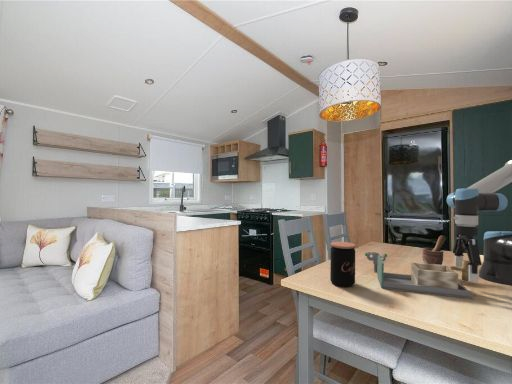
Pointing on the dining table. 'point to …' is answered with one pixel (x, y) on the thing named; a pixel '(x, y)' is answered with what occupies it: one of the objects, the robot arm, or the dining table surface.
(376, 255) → the mechanical component
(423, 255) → the mortar and pestle
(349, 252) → the coffee jar
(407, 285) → the bay
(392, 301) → the dining table surface
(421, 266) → the crate
